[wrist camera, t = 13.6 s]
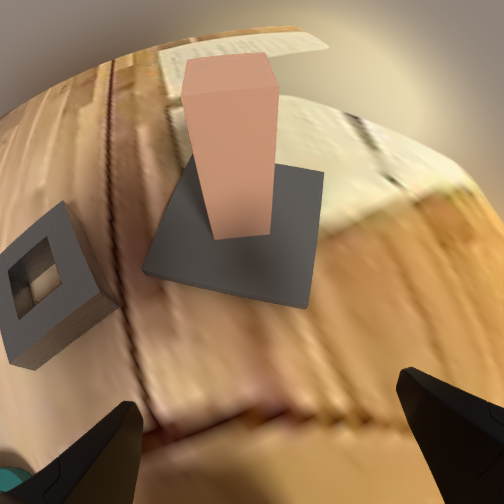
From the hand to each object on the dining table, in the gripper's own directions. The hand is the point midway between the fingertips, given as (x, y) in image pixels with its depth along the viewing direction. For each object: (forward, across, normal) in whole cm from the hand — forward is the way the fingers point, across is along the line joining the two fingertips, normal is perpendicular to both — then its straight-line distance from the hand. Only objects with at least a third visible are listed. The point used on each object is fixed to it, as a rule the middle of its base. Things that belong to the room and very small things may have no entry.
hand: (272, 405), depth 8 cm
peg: (+17, 0, -3) cm, 18 cm away
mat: (+18, 0, -2) cm, 18 cm away
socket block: (+14, +18, +1) cm, 23 cm away
